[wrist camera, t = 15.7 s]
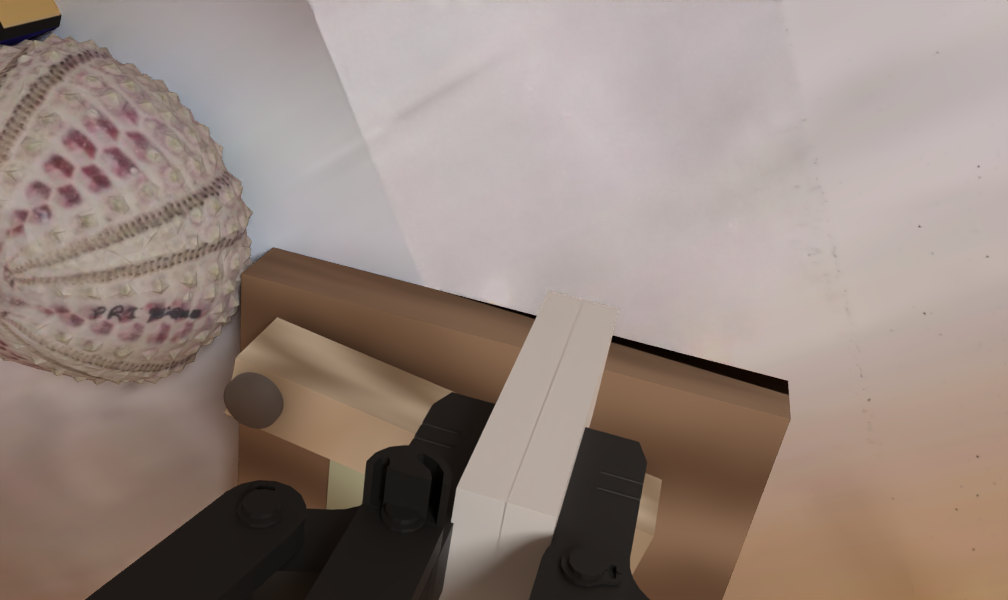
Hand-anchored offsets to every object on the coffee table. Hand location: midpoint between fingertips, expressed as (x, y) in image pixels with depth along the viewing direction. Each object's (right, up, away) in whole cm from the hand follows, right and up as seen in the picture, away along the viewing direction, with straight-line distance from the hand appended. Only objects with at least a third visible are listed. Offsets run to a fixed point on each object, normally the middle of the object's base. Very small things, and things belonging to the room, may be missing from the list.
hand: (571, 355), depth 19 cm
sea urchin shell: (-17, +5, +17) cm, 24 cm away
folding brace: (-3, -3, +14) cm, 14 cm away
